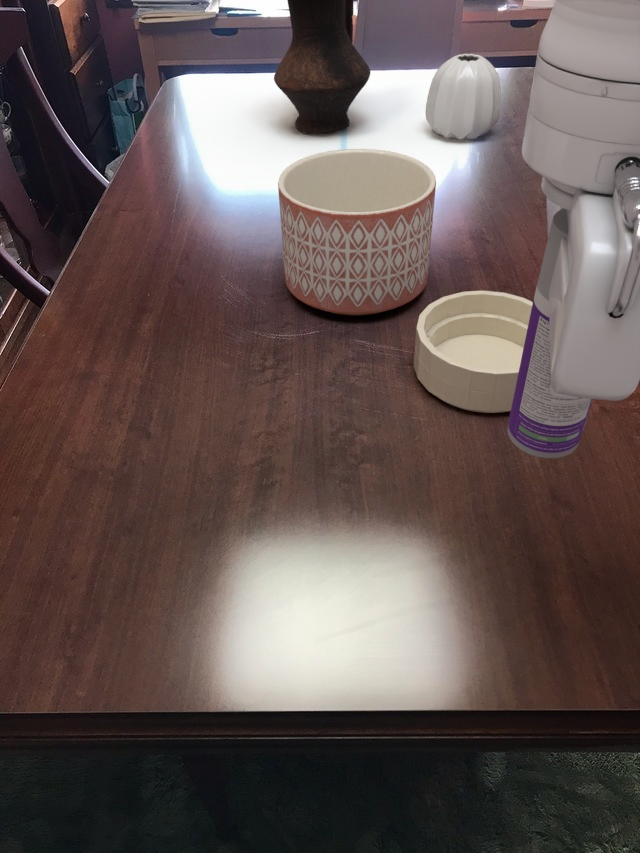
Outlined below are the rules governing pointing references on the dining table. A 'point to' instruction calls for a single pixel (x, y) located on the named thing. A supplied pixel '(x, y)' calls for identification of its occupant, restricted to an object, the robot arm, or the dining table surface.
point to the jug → (321, 65)
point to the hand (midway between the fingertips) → (562, 359)
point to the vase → (464, 97)
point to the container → (544, 375)
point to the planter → (356, 229)
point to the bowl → (472, 348)
